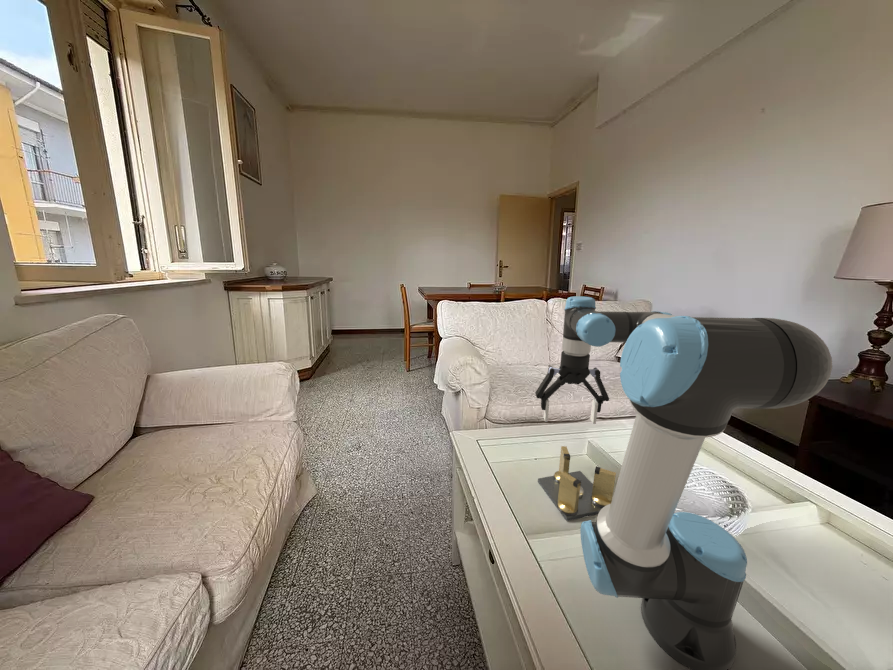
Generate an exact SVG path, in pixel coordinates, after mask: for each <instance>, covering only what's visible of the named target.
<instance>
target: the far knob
mask: <svg viewBox="0 0 893 670" xmlns="http://www.w3.org/2000/svg"><path fill="white" fill-rule="evenodd" d="M559 455H560V456H559V465H558V470H557V471H556V472H554V473H553V476H554V477H555V479H556V480H557V481H559V482H560V474H561V473H563V472H565V473H567V474H569V473H570V463H571V462H570V460H571V454H570V452H569V449H568V447H567V446H565V445H564V446H563V445H561V446H560V454H559ZM569 475H570V474H569ZM570 476H571V475H570Z"/></svg>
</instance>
